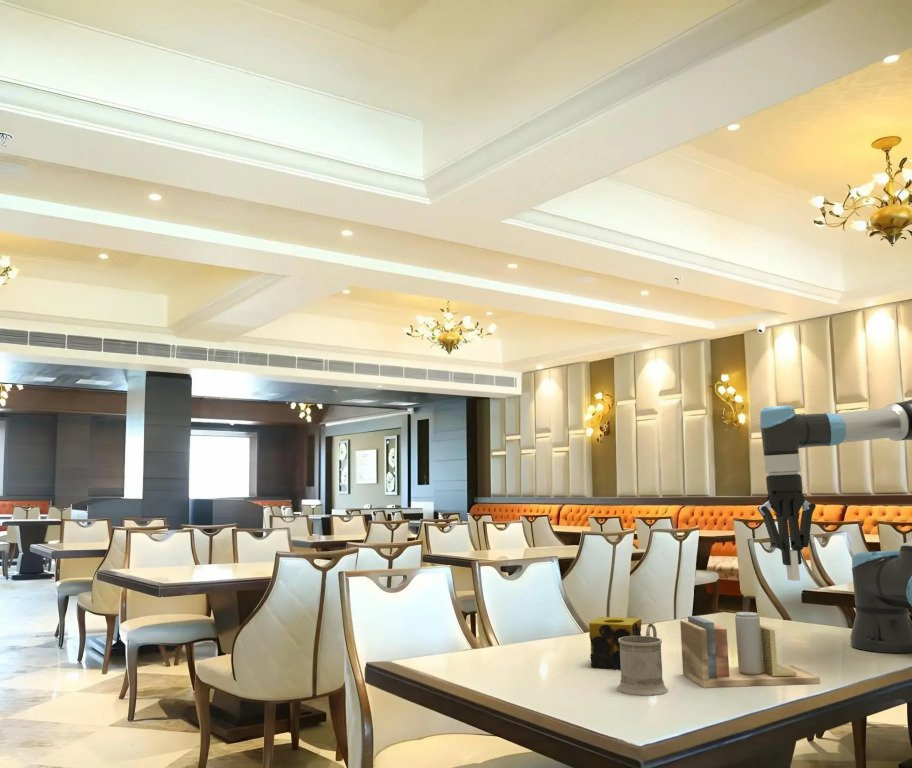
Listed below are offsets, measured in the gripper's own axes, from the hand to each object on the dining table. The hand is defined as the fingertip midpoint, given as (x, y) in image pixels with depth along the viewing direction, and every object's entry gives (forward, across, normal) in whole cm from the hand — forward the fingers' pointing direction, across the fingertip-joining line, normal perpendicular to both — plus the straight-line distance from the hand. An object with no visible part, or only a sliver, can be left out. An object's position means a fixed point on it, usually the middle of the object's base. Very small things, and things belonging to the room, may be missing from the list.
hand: (793, 579), depth 184 cm
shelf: (+18, +17, +10) cm, 27 cm away
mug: (+18, +40, +13) cm, 45 cm away
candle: (+18, +39, -9) cm, 44 cm away
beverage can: (+17, +16, +10) cm, 26 cm away
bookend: (+17, +11, +10) cm, 23 cm away
